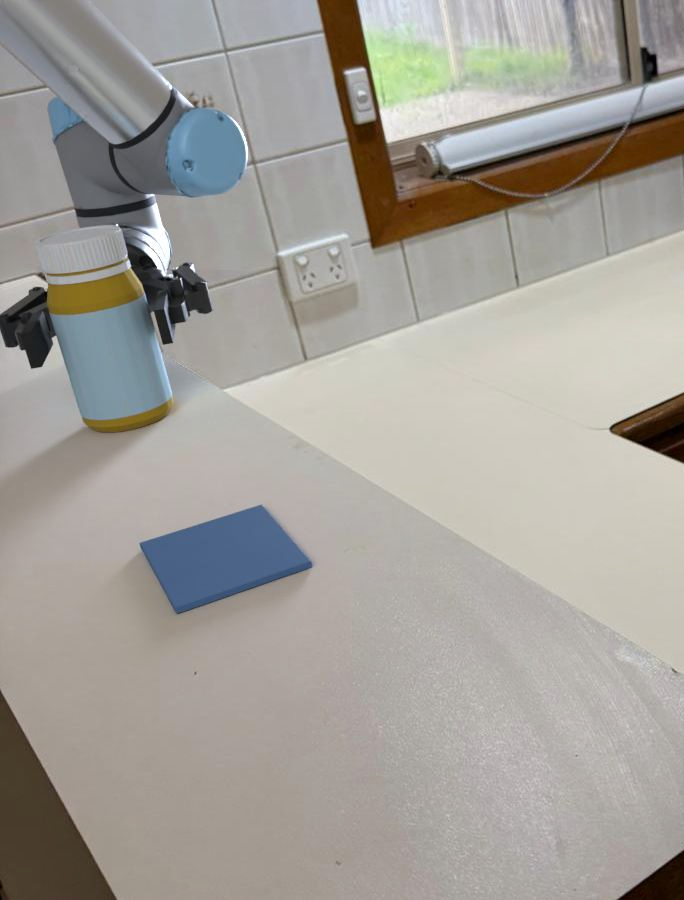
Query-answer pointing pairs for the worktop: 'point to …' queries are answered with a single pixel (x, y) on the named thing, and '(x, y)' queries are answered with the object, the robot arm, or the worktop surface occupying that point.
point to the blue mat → (222, 557)
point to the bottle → (104, 329)
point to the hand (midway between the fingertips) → (98, 338)
